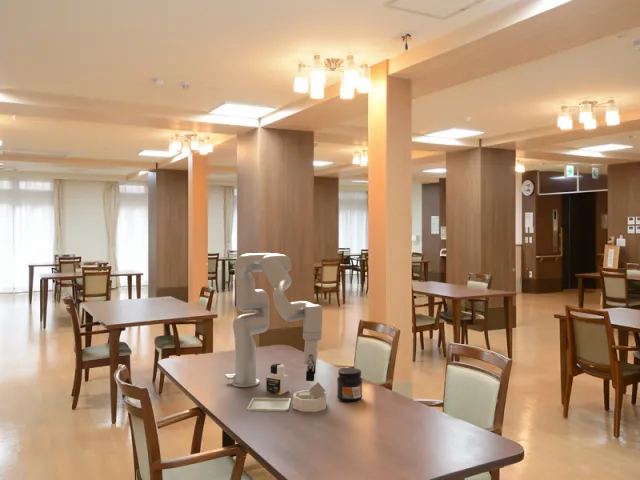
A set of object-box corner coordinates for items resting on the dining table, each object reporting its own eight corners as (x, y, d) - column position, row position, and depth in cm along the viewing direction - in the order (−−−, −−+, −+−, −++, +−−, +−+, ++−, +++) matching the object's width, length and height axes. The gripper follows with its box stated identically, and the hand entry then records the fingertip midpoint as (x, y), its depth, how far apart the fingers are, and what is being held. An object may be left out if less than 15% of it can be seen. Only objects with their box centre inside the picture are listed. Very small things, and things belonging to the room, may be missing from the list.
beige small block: (308, 390, 216) (318, 381, 217) (309, 390, 220) (318, 382, 220) (316, 398, 215) (325, 390, 216) (316, 399, 218) (325, 391, 219)
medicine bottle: (266, 393, 235) (266, 365, 235) (274, 389, 241) (275, 362, 241) (280, 395, 231) (280, 367, 231) (288, 391, 238) (289, 363, 238)
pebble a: (299, 407, 213) (299, 395, 213) (300, 404, 217) (299, 392, 217) (311, 407, 213) (310, 394, 213) (311, 404, 217) (310, 392, 217)
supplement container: (360, 404, 221) (360, 374, 221) (334, 402, 223) (335, 373, 223) (363, 396, 231) (363, 368, 231) (339, 394, 233) (339, 366, 233)
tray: (246, 411, 211) (246, 408, 211) (252, 400, 225) (252, 397, 225) (287, 412, 210) (287, 409, 210) (291, 401, 224) (291, 398, 224)
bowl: (291, 412, 210) (292, 399, 210) (294, 401, 223) (294, 389, 223) (325, 412, 210) (325, 400, 210) (326, 402, 223) (326, 390, 223)
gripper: (304, 330, 228) (303, 370, 229) (301, 339, 211) (299, 383, 212) (322, 331, 228) (320, 371, 228) (320, 340, 210) (319, 384, 211)
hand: (310, 377), depth 220 cm, fingers open, 9 cm apart
